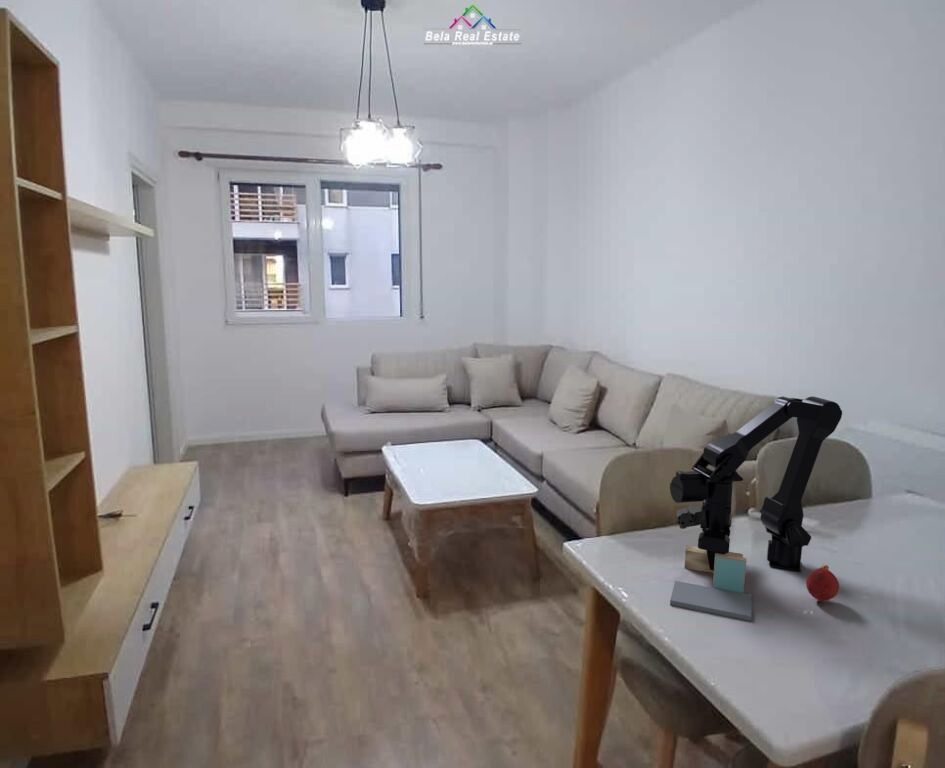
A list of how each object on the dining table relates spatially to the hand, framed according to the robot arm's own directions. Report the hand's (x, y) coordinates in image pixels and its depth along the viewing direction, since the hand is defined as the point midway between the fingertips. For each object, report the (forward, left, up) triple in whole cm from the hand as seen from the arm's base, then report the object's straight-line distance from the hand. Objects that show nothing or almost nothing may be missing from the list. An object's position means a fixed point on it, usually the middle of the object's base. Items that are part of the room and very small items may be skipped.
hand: (713, 565), depth 142 cm
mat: (0, +16, -1) cm, 16 cm away
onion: (-21, +6, -1) cm, 22 cm away
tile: (-3, +10, -1) cm, 11 cm away
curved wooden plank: (0, 0, -1) cm, 1 cm away
